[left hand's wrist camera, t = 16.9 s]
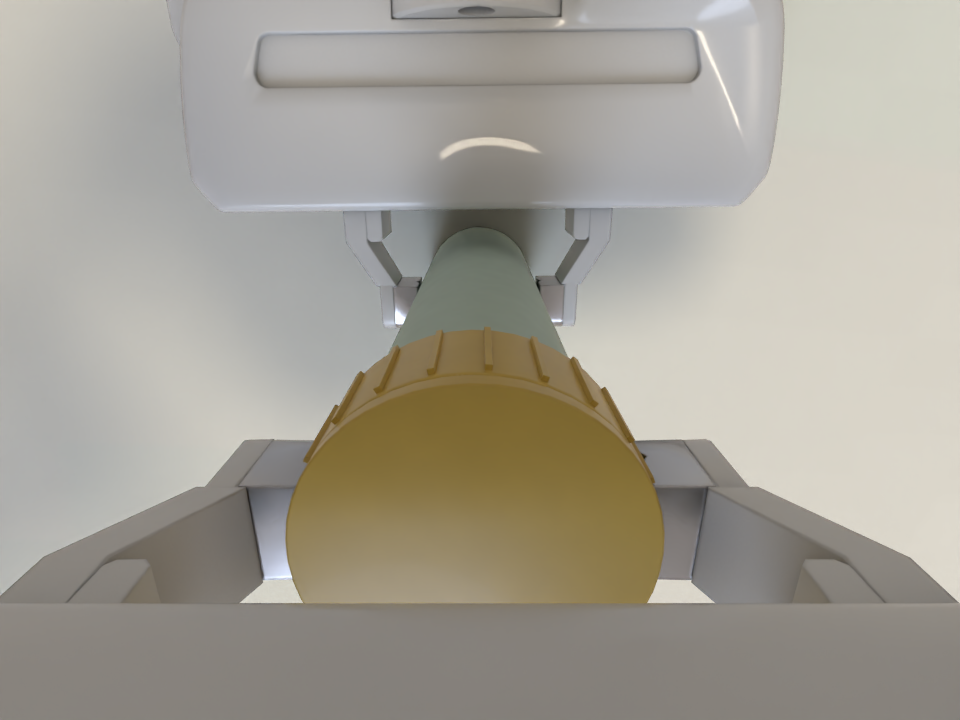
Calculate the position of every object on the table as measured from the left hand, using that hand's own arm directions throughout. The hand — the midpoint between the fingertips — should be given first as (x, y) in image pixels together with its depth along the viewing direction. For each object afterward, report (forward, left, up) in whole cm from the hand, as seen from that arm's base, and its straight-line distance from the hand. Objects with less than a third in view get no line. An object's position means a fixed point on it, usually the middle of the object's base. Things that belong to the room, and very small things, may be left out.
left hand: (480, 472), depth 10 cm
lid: (0, 0, +2) cm, 2 cm away
